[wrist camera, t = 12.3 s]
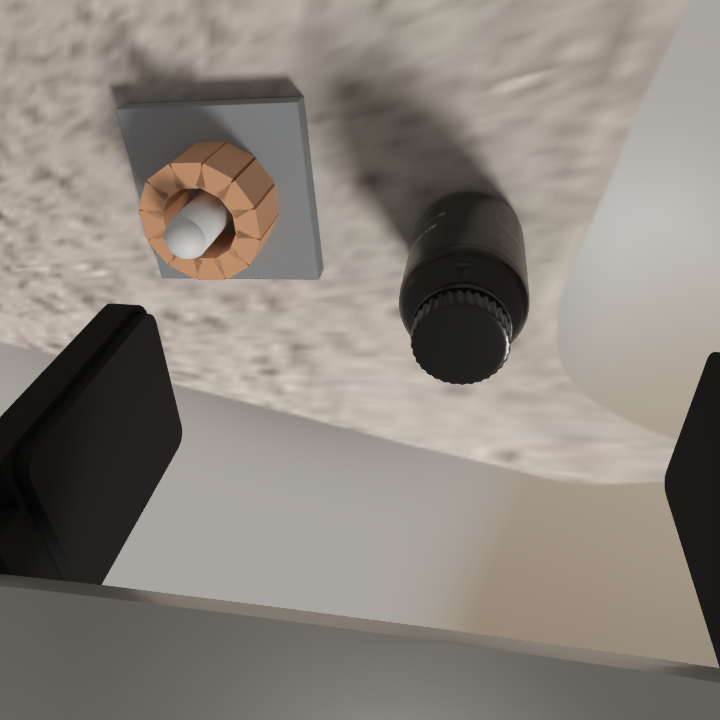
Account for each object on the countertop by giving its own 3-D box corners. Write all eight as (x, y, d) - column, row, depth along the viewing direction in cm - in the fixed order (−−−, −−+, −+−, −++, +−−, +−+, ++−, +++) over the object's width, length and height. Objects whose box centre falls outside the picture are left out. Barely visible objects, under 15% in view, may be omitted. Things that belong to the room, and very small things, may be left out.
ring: (156, 143, 38) (125, 164, 35) (268, 140, 37) (247, 161, 33) (182, 251, 42) (157, 279, 39) (285, 251, 41) (267, 280, 37)
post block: (127, 103, 38) (48, 143, 31) (303, 96, 36) (260, 137, 30) (170, 268, 45) (112, 332, 38) (323, 269, 43) (291, 337, 36)
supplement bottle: (410, 189, 39) (385, 279, 29) (526, 186, 37) (540, 279, 28) (415, 289, 42) (393, 399, 33) (519, 290, 41) (530, 403, 31)
